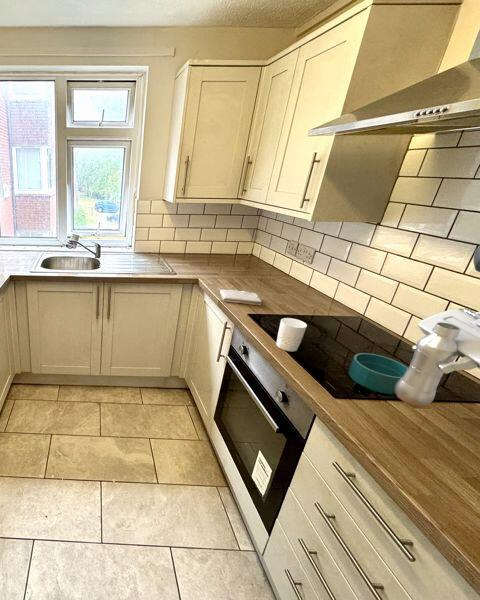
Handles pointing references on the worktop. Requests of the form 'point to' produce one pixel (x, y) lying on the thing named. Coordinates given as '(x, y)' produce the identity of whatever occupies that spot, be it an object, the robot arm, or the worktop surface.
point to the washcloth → (240, 297)
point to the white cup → (290, 334)
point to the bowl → (376, 372)
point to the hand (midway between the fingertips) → (427, 360)
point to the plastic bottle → (428, 365)
